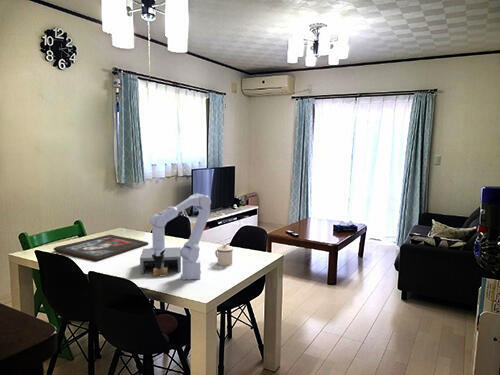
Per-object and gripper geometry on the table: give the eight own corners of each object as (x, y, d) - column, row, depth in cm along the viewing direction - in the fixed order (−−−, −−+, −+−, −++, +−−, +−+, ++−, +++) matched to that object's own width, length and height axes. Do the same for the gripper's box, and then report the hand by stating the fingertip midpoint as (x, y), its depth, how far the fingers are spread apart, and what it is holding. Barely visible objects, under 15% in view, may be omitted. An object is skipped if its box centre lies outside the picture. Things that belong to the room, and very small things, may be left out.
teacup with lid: (235, 263, 214) (236, 244, 213) (225, 267, 207) (225, 247, 206) (220, 259, 222) (220, 240, 220) (210, 262, 214) (210, 243, 213)
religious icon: (51, 252, 231) (51, 247, 230) (108, 237, 270) (108, 233, 270) (95, 263, 212) (95, 258, 212) (149, 246, 252) (149, 241, 252)
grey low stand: (180, 261, 216) (180, 247, 215) (180, 272, 198) (180, 256, 197) (143, 263, 212) (143, 248, 211) (140, 274, 194) (140, 258, 193)
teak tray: (168, 265, 208) (168, 256, 207) (167, 275, 192) (167, 265, 192) (155, 266, 207) (155, 256, 206) (153, 276, 191) (153, 266, 190)
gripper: (151, 235, 184) (151, 261, 186) (148, 243, 170) (149, 271, 172) (165, 235, 185) (165, 261, 187) (164, 242, 171) (164, 270, 173)
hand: (158, 266), depth 179 cm, fingers open, 7 cm apart
